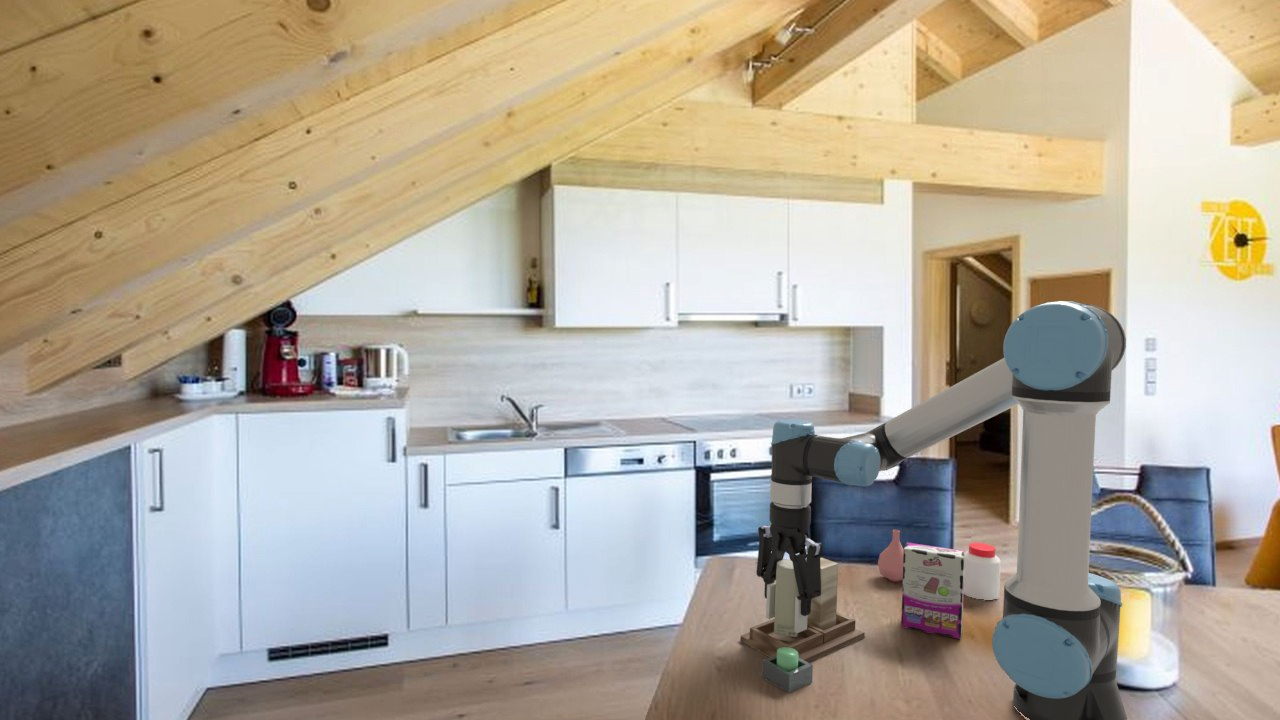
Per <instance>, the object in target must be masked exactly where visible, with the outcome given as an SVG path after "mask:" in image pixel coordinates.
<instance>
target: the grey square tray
mask: <svg viewBox="0 0 1280 720" xmlns="http://www.w3.org/2000/svg"><path fill="white" fill-rule="evenodd" d="M813 669H814V668H813V664H811V662H809V663H808V662H806V661H804V660H802V659H800V658H799V657H798V668H797V669H795V670H792V671H790V672H788V671H786V670H784V669H782V668H780V667H779V666H777V654H776V655H774V656H772V657H769V656H768V658H765V659H763V660H761V678H762V679H763V680H766V681H767V682H769V683H770V684H772V685H774V686H776V687H778V688H779V689H781V690H782V691H784V692H785V693H788V694H790V693H792V692H794V691H796V690H798V689H800V688H801V689H802V687H805V686H808V685H809V684H811V683H813Z"/></svg>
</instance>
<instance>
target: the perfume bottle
mask: <svg viewBox="0 0 1280 720" xmlns="http://www.w3.org/2000/svg"><path fill="white" fill-rule="evenodd" d="M900 532H901V531H900V530H899V529H893V530H892V540H891V541H890V544H889V545H888V547H886V548H885V549H884V550H883V551H881V553H879V557H878V562H877V566H878V570H879V573H880V575H881V576H883V577H884V578H887V579H889V581H891V582H900V581H903V555H904V548H903V546H902V543H901V541H900Z"/></svg>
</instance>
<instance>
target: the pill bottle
mask: <svg viewBox="0 0 1280 720" xmlns="http://www.w3.org/2000/svg"><path fill="white" fill-rule="evenodd" d="M996 550H997V549H996V547H995V546H993V545H992V544H987V543H983V542H971V543H969V544H968V550H966V551H965V559H964V592H963V595H965V596H967V597H969V598H971V597H972V599H974V598H976V599H975V600H978V599H984V600H983V601H985V600H992V599H996V598H998V597H999V598H1000V588H1001V587H1000V586H1001V585H1000V583H1001V581H1000V580H1001V566H1002V565H1001V564H1002V562H1001V558H999V557H998V556H997V555H996V554H997V553H996V552H997V551H996ZM999 598H998V599H999Z"/></svg>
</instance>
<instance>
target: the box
mask: <svg viewBox="0 0 1280 720" xmlns="http://www.w3.org/2000/svg"><path fill="white" fill-rule="evenodd" d="M775 582H776V590H775V616H774V617H773V619H774V634H776V635H782V636H791V637H797V634H798V633H796V632H794V626H795V598H796V597H797V596H799V592H798V587H797V582H796V577H795V572H794V567H793V562H792V561H791V560H790V559H783V560H779V561H777V570H776V580H775Z"/></svg>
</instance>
